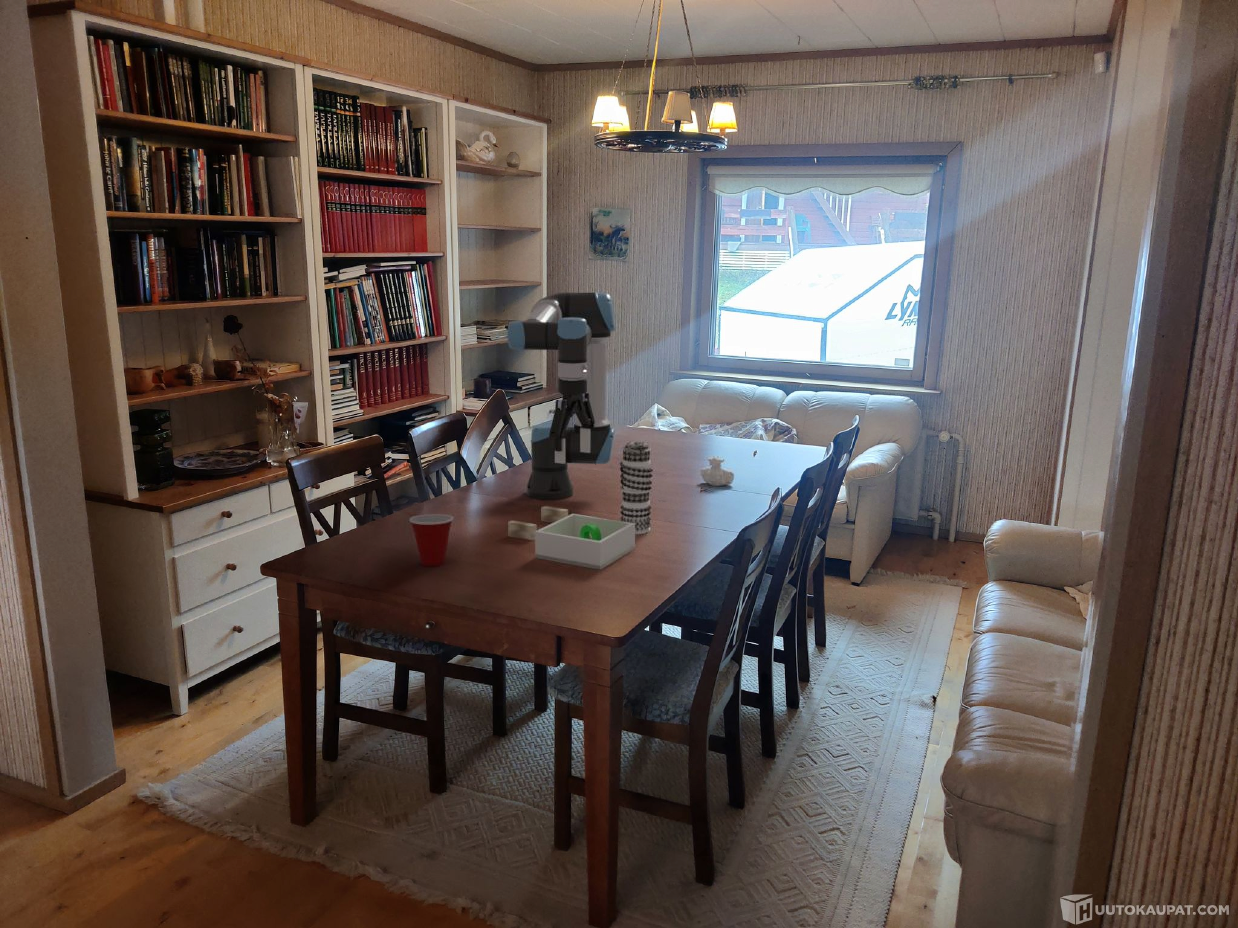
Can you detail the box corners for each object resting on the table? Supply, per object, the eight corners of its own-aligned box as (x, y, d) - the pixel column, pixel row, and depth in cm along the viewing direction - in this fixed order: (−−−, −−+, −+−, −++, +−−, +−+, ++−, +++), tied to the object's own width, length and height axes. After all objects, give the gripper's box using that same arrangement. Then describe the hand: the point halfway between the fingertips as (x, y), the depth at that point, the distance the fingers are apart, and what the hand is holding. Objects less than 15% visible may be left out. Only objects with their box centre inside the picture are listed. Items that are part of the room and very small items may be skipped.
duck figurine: (699, 489, 310) (693, 468, 302) (704, 472, 314) (699, 451, 306) (732, 493, 305) (727, 472, 297) (738, 476, 310) (733, 454, 302)
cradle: (508, 536, 249) (508, 522, 248) (544, 519, 265) (544, 506, 264) (532, 540, 245) (532, 526, 244) (568, 522, 262) (568, 509, 261)
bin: (535, 557, 231) (535, 531, 229) (572, 538, 247) (572, 513, 246) (600, 569, 222) (600, 542, 221) (634, 548, 239) (635, 523, 237)
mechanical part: (611, 552, 233) (611, 522, 231) (595, 557, 228) (595, 527, 226) (578, 542, 240) (578, 513, 239) (562, 547, 236) (562, 518, 234)
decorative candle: (614, 526, 258) (615, 441, 253) (644, 523, 261) (645, 439, 256) (625, 535, 250) (626, 447, 244) (656, 532, 253) (658, 445, 248)
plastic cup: (457, 555, 232) (456, 510, 229) (451, 569, 222) (450, 522, 219) (415, 555, 232) (413, 510, 229) (407, 569, 221) (405, 522, 219)
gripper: (560, 386, 222) (561, 469, 227) (607, 372, 243) (607, 449, 249) (534, 383, 225) (536, 466, 230) (583, 370, 247) (583, 446, 252)
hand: (573, 457), depth 239 cm, fingers open, 13 cm apart
